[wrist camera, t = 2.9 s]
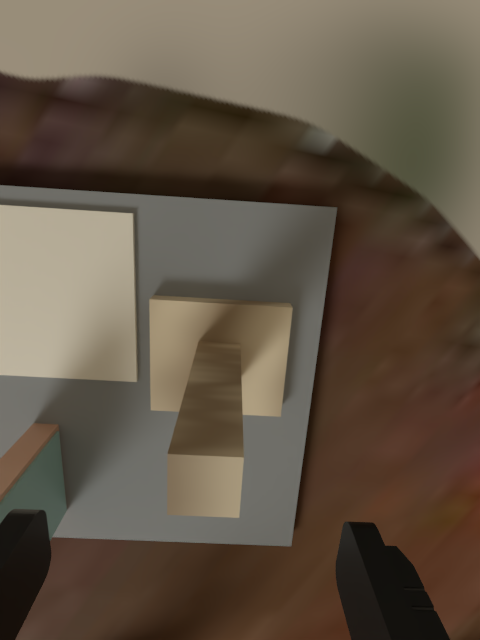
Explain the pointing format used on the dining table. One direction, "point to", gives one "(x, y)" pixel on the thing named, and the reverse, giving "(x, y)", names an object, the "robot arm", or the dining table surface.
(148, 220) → the mat
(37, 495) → the tile
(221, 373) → the square plate with post
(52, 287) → the plate
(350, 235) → the dining table surface
